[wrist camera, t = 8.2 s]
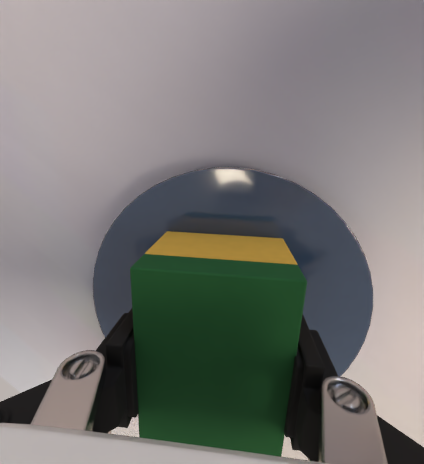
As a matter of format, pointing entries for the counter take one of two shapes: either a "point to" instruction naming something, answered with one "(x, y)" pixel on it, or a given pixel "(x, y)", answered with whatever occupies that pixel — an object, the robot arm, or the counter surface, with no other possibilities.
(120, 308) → the plate
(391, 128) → the counter surface
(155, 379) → the sponge
